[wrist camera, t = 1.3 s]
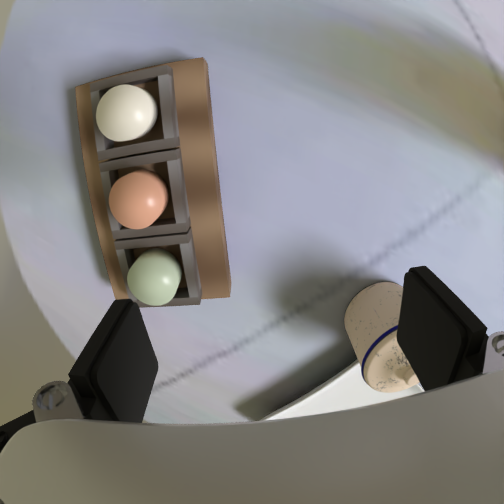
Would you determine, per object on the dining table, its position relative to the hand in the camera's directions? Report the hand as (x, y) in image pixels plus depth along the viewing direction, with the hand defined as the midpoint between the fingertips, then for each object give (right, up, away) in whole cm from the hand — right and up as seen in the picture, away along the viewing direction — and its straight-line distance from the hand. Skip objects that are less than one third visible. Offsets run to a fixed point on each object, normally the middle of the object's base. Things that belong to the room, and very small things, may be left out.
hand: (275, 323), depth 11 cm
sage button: (-9, +1, +18) cm, 20 cm away
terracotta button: (-10, +7, +15) cm, 19 cm away
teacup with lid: (+16, -5, +25) cm, 30 cm away
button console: (-10, +9, +19) cm, 23 cm away
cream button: (-10, +14, +12) cm, 21 cm away
